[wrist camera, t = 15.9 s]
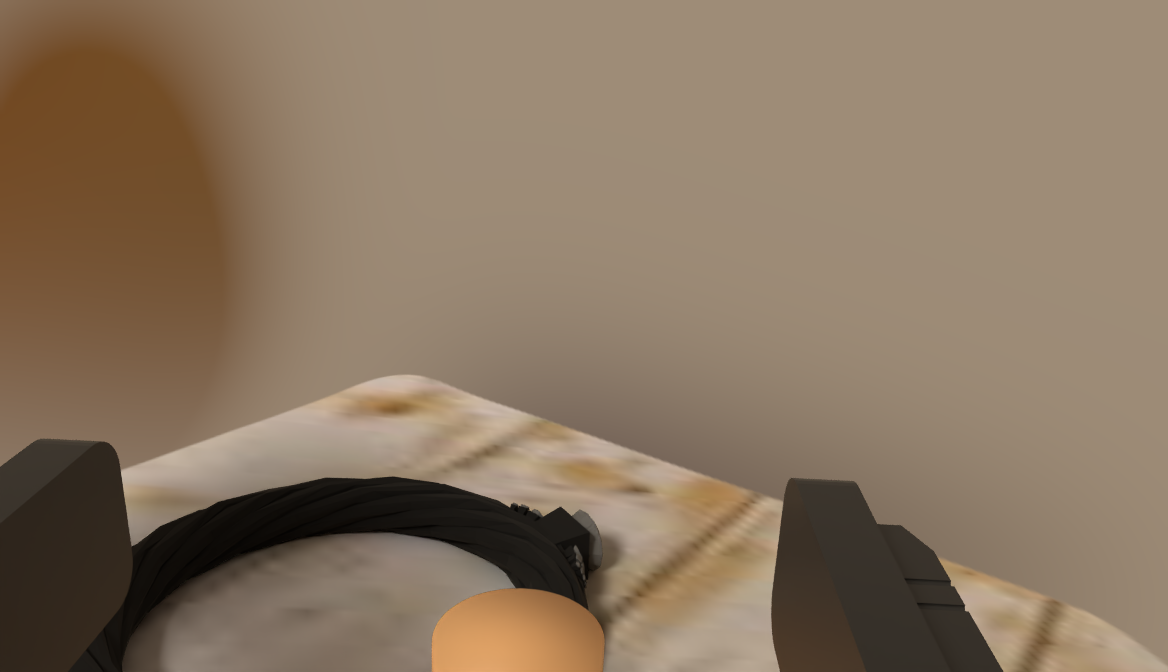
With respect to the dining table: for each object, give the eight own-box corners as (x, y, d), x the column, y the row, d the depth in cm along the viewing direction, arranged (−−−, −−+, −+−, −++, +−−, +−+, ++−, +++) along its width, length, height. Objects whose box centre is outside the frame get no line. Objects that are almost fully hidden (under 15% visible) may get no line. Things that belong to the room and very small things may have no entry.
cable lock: (20, 527, 54) (493, 428, 69) (31, 584, 55) (492, 475, 70) (50, 899, 32) (738, 634, 47) (66, 982, 33) (732, 698, 48)
